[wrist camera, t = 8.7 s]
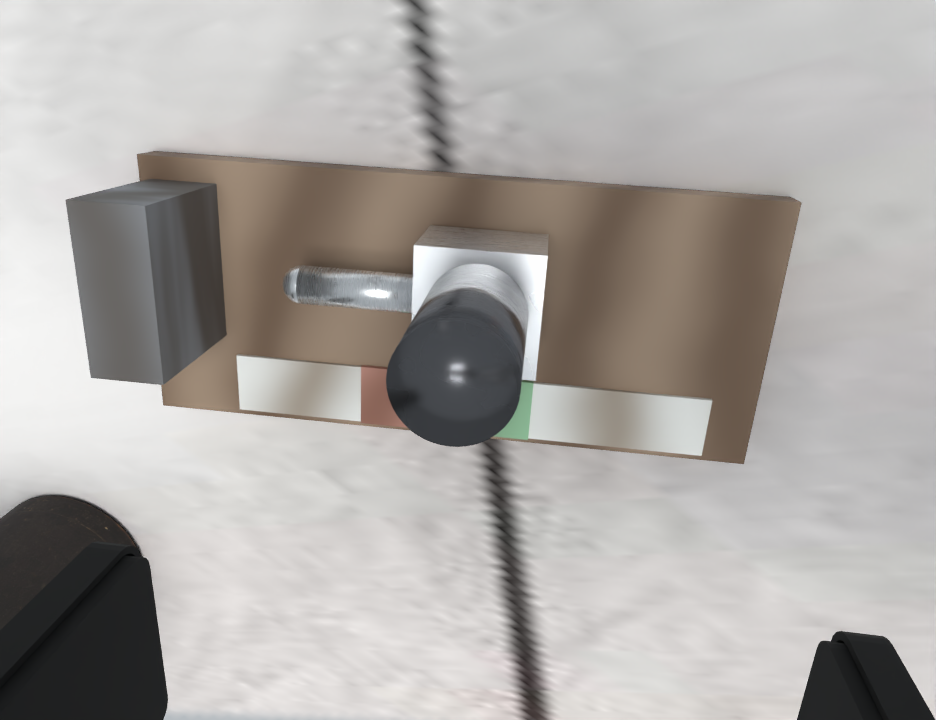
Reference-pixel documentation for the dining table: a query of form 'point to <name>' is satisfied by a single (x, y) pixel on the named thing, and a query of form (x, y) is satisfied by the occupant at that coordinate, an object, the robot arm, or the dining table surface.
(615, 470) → the dining table surface
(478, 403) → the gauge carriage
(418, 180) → the gauge base
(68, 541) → the container
